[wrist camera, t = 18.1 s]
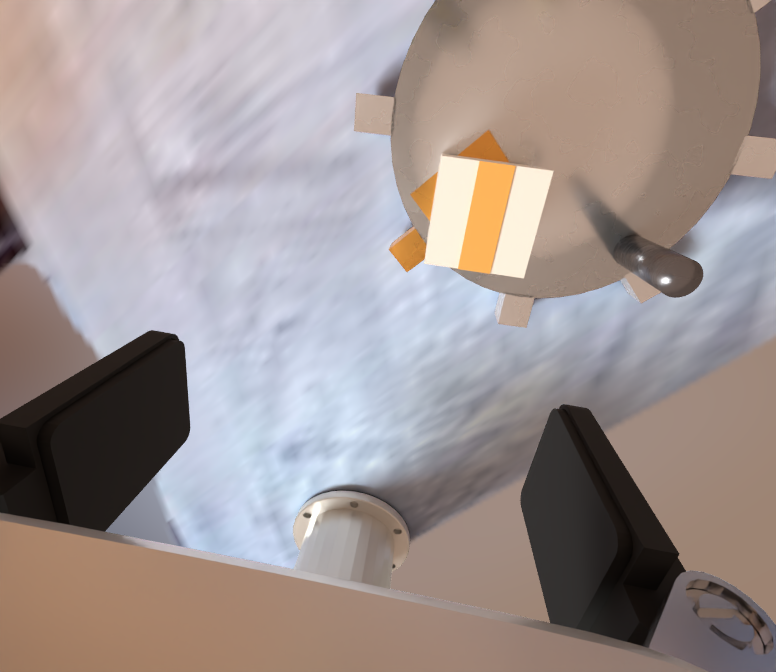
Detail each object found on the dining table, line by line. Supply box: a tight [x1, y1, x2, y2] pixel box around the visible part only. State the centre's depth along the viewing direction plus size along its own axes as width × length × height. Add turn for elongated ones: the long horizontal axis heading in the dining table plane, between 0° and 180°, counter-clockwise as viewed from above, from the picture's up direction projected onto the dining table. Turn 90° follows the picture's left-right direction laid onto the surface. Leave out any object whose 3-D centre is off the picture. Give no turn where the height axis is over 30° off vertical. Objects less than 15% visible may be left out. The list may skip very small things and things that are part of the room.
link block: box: [424, 153, 553, 278], centre depth 22 cm, size 5×5×7 cm
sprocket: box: [354, 0, 776, 328], centre depth 22 cm, size 24×24×8 cm
